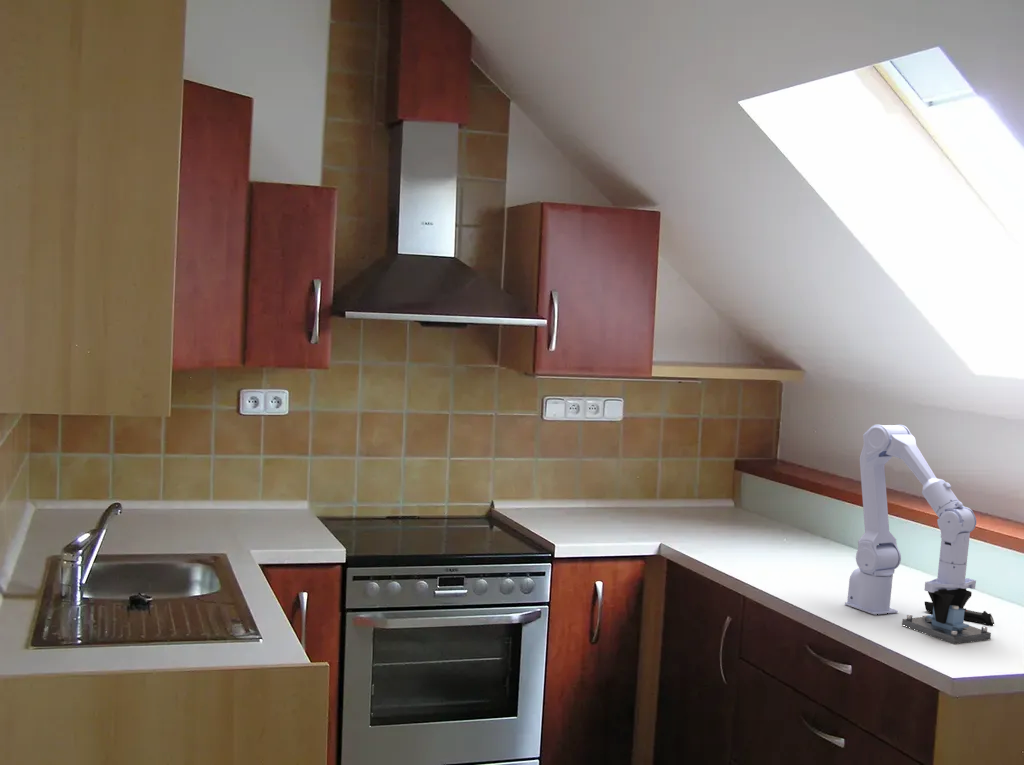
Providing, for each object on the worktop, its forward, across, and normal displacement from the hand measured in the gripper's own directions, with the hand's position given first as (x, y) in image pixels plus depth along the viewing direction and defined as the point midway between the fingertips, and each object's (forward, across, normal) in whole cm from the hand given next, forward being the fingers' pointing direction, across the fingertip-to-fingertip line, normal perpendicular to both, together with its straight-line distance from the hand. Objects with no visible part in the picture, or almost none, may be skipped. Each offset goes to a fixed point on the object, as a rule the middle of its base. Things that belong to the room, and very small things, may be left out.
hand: (946, 621), depth 248 cm
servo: (+2, 0, 0) cm, 2 cm away
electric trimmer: (+3, +14, +8) cm, 16 cm away
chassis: (+2, 0, 0) cm, 2 cm away
